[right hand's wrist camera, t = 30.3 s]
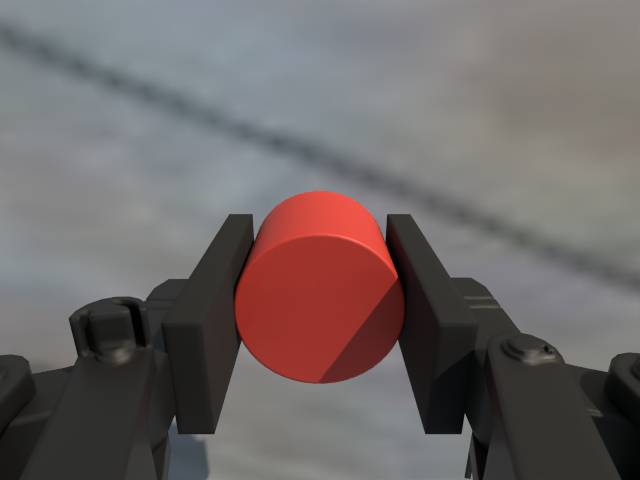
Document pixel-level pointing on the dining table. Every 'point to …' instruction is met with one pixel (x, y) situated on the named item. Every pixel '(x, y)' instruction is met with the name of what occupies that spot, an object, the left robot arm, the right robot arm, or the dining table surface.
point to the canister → (319, 291)
